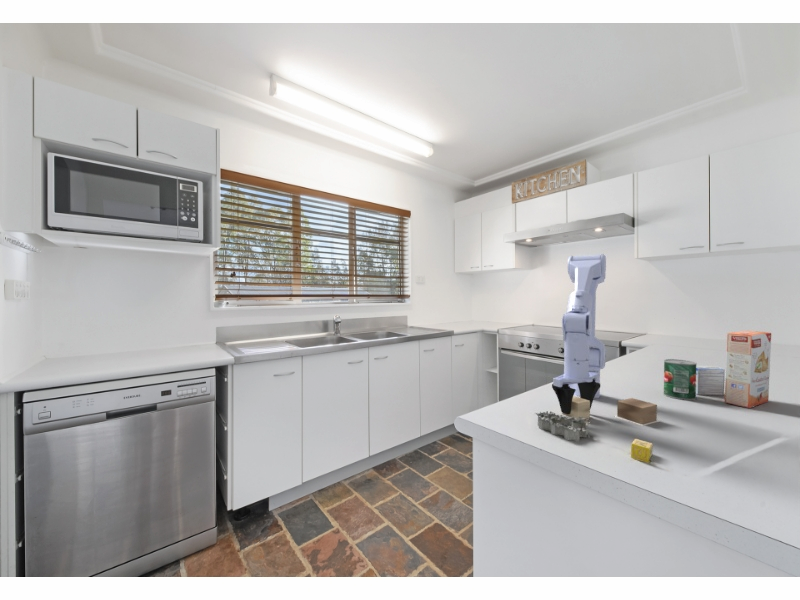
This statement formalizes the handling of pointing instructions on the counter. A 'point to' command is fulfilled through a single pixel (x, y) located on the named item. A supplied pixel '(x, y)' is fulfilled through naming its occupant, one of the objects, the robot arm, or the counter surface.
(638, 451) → the alphabet block
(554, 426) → the egg carton
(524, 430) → the counter surface
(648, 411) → the walnut block
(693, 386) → the canned tomato
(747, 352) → the cracker box
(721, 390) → the medicine box
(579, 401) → the oak block
